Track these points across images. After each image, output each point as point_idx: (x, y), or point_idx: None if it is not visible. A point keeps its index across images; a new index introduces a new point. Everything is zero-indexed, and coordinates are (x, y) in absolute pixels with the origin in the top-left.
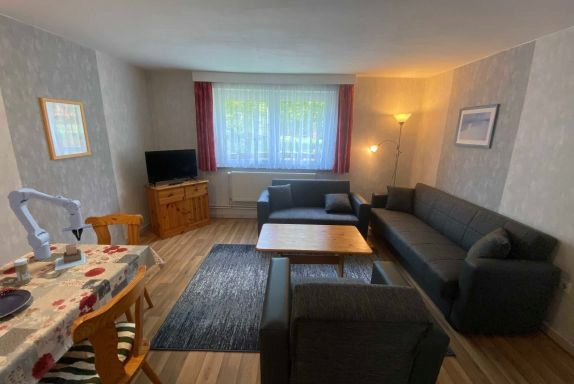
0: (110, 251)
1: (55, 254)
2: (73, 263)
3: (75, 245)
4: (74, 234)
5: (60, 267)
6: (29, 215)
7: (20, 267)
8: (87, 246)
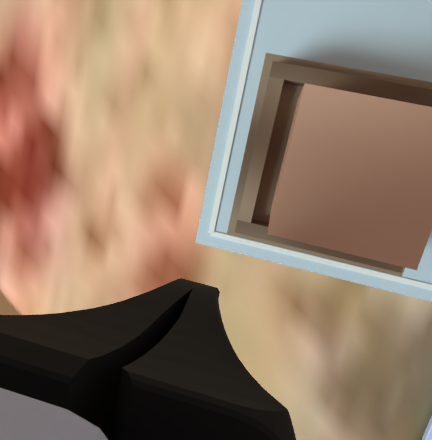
0: (14, 118)
1: (393, 437)
2: (363, 16)
3: (294, 149)
4: (238, 369)
5: None
6: None
7: None
8: None
